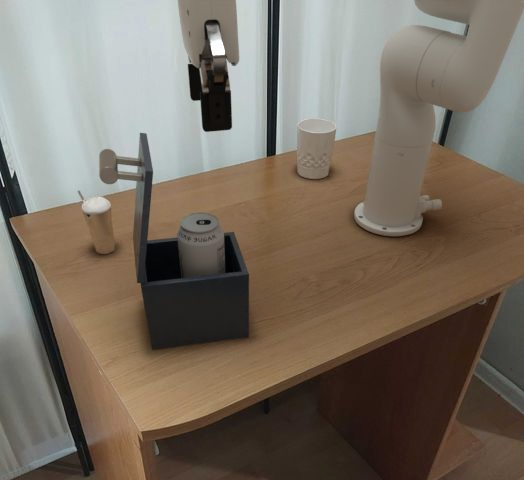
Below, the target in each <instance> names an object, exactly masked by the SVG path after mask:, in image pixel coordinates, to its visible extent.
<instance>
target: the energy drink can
mask: <svg viewBox="0 0 524 480" xmlns="http://www.w3.org/2000/svg"><path fill="white" fill-rule="evenodd" d="M224 233H225V231H224V228H223V227H222V226H221V225H220V221H219V218H218V217H217V216H216V215H214V214H212V213H209V212H191V213H189V214H187V215H184V217H182V218H181V219H180V226H179V228H178V229H177V233H176V237H177V239H178V249H179V259H180V268H181V278H189V277H198V276H206V275H215V274H224V273H225V248H224Z"/></svg>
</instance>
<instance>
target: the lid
mask: <svg viewBox="0 0 524 480" xmlns="http://www.w3.org/2000/svg"><path fill="white" fill-rule="evenodd" d="M98 155H99V156H98V168H99V171H98V172H99V175H98V177H99V179H100V181H101V182H102V183H103V184H105V185H114V184H115V183H117V182H118V180H121V181H122V180H124V181H132V182H136V183H135V185H136V186H135V200H134V214H133V215H134V216H133V232H132V244H133V254H134V255H133V256H134V264H135V265H134V267H135V276H136V284H141V283H144V274H145V262H146V250H147V240H148V237H149V227H150V226H149V225H150V212H151V204H152V203H151V202H152V191H153V179H154V169H153V168H154V167H153V162H152V157H151V152H150V145H149V140H148V134H147V133H146V132H139V139H138V156H137V157H129V156H120V155H117V153H116V151H114V150H113V149H110V148H105V149H102V150H100V152H99V154H98ZM118 165H122V166H123V165H124V166H129V167H130V166H131V167H132V166H133V167H137V169H136V170H137V171H136V172H131V171H123V170H119V166H118Z"/></svg>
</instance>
